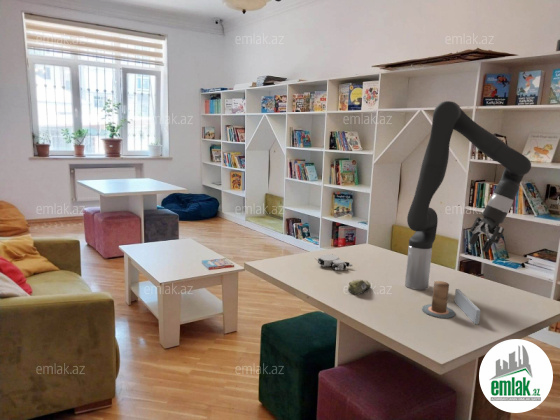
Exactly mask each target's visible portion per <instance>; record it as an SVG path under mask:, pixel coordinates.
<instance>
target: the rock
mask: <svg viewBox="0 0 560 420" xmlns="http://www.w3.org/2000/svg"><path fill="white" fill-rule="evenodd" d="M367 288H368V289H370V288H371V283H370V282H369V281H368V280H366V279H365V280H364V279H353V280H352V281H350V282H349V283H348V287H347V290H348V292H349V293H350V294H352V293H353V294H352V295H357V296H358V295H361V294H363V293H364V292H365V291H366V290H368V289H367ZM363 291H364V292H363Z"/></svg>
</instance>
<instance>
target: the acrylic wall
mask: <svg viewBox="0 0 560 420" xmlns="http://www.w3.org/2000/svg"><path fill="white" fill-rule="evenodd" d="M454 294H455V295H454V300H453V301H454V302H455V305H457V306H458V307H459V308H460V309H461V311H463V312H464V314H465V315H466V316H467V317H468V318H469V320H471V321H472V322H473V324H474V325H480V317H481V309H480V308H479V307H478V306H477V305H476V304H474V303H473V301H472V300H470V299H469V297H468V296H467V295H466V294H465V293H463V291H462V290H461V289H459V288H455V292H454Z"/></svg>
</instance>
